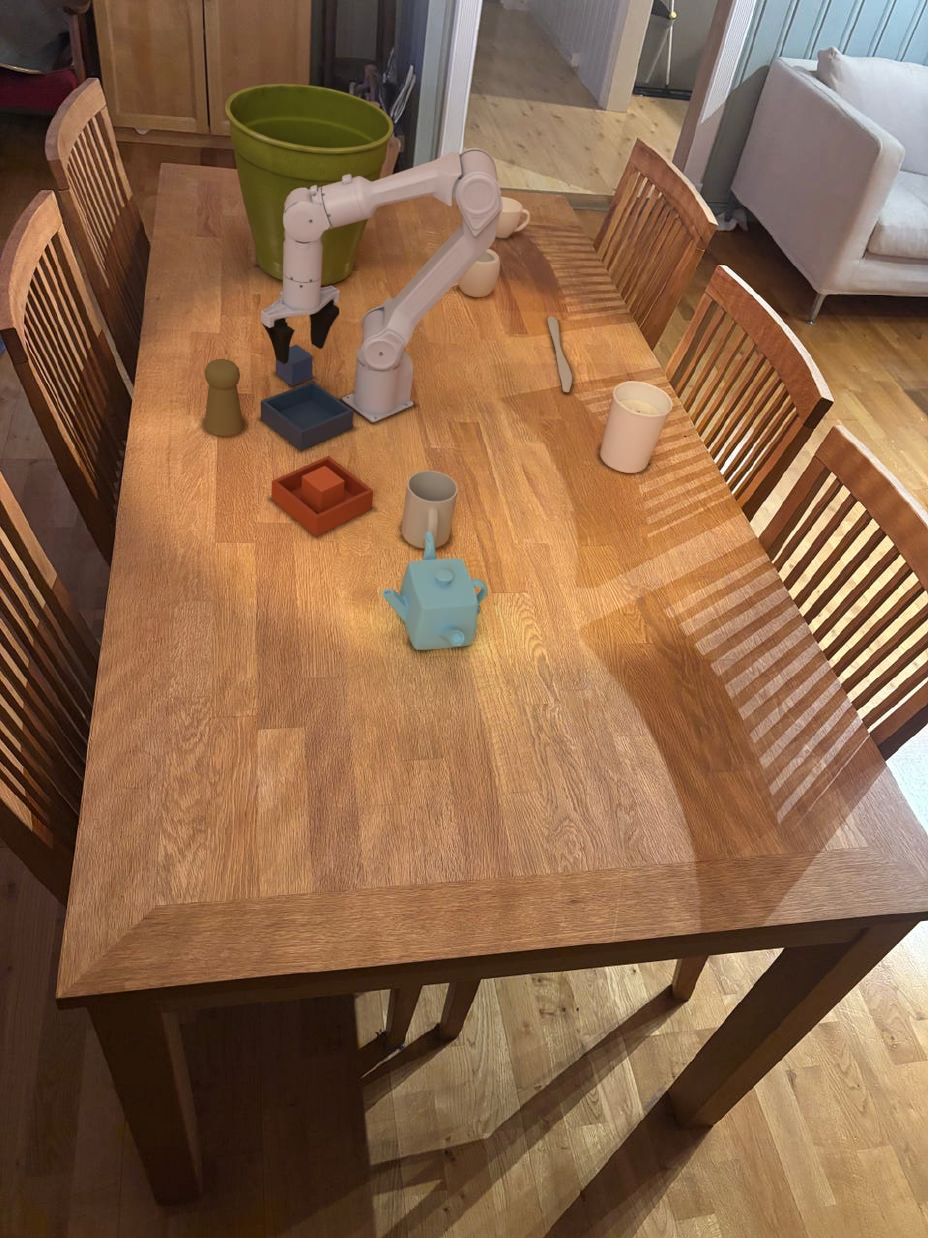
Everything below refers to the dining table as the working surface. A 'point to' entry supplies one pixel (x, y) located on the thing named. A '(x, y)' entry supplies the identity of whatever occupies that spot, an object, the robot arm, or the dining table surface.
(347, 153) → the plant pot
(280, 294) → the robot arm
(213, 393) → the pepper mill
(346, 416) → the blue bin
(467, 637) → the teapot
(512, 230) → the cup
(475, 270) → the mug
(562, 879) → the dining table surface
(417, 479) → the cup
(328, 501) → the terracotta block
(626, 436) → the candle holder
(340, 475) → the terracotta bin
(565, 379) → the butter knife
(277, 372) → the blue block
